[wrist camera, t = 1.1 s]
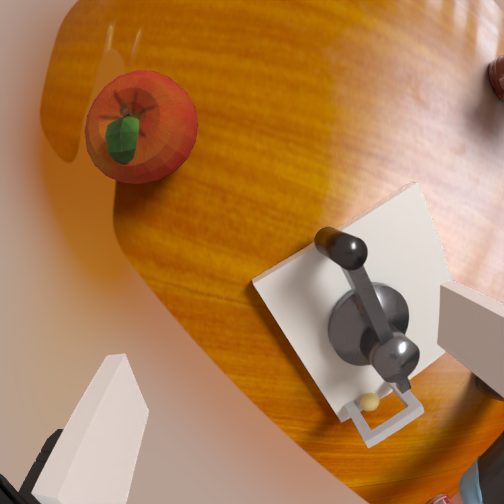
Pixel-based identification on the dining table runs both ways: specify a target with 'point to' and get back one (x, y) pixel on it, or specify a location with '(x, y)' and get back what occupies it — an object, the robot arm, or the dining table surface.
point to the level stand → (336, 286)
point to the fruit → (141, 127)
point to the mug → (497, 76)
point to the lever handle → (368, 314)
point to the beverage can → (440, 500)
